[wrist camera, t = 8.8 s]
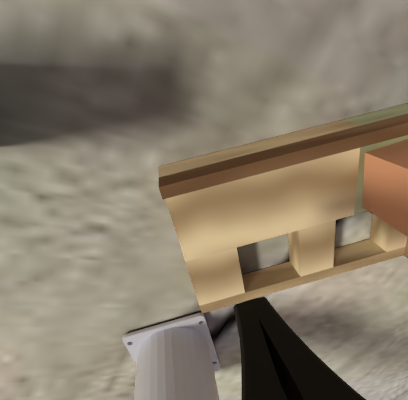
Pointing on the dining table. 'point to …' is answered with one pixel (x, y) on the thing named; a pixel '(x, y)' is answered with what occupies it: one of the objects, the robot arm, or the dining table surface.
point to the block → (387, 184)
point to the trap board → (280, 206)
